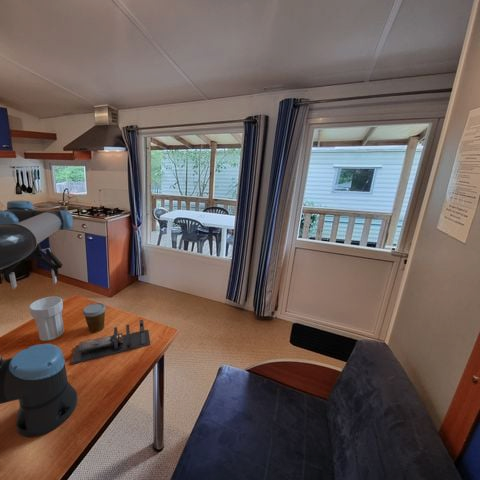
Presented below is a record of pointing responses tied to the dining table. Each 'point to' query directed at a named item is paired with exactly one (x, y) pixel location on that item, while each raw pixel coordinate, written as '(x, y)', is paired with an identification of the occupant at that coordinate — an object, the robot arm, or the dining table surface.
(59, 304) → the cup
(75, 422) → the dining table surface
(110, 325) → the dining table surface
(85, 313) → the disposable coffee cup
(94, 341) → the tube
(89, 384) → the dining table surface
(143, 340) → the collar rail
